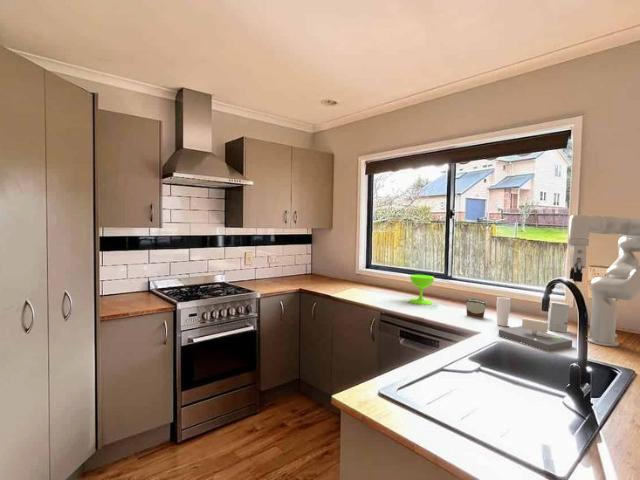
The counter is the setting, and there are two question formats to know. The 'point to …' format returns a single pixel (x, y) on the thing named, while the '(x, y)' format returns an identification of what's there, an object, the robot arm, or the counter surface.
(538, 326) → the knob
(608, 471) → the counter surface
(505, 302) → the drinking glass
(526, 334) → the dial plate
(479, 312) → the food container
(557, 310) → the skincare box
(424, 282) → the wineglass
